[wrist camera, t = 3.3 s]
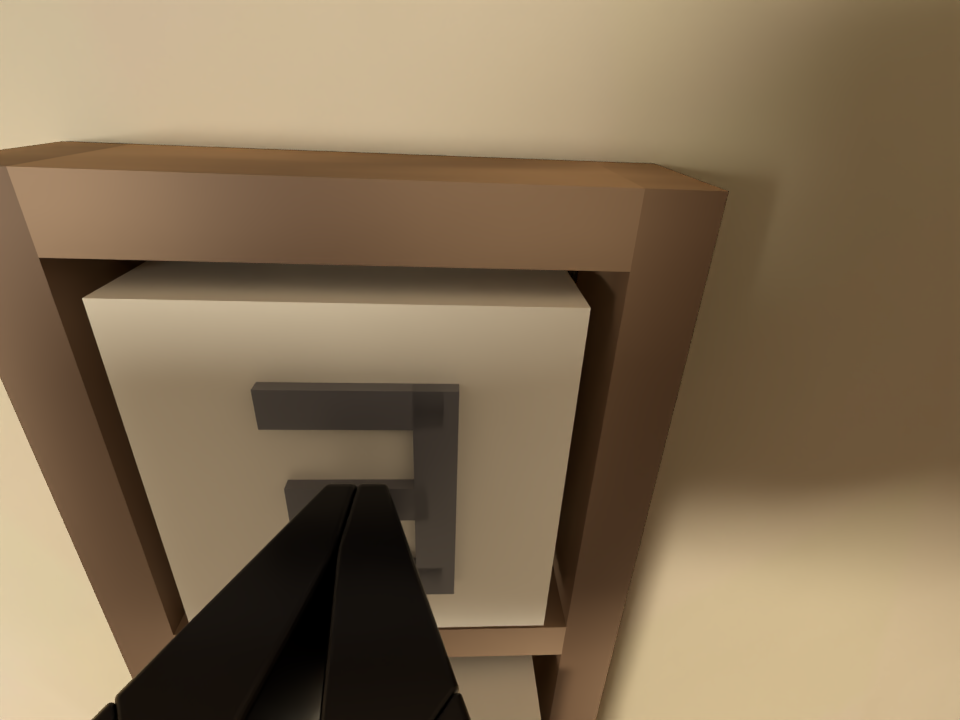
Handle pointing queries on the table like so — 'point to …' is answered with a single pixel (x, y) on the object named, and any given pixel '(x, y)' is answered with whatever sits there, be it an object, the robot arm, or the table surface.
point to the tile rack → (372, 242)
